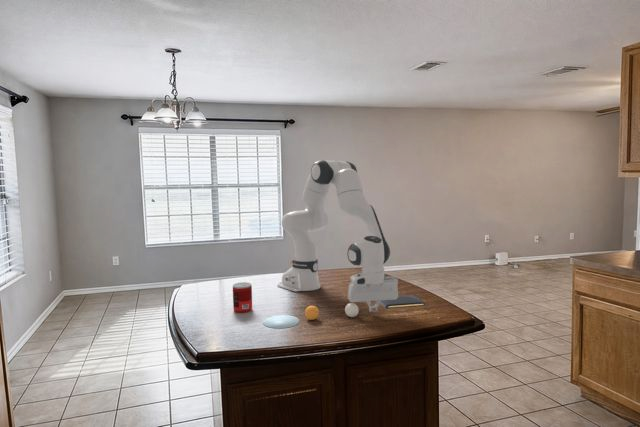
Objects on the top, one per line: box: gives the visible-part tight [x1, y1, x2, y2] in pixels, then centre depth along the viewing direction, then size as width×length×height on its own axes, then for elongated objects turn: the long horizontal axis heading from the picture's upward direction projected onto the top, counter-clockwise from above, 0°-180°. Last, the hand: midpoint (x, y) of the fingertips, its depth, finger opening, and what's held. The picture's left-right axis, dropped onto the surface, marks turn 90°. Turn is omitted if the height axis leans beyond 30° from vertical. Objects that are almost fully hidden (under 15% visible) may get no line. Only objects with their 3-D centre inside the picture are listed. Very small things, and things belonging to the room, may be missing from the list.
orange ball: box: [304, 305, 320, 321], centre depth 165 cm, size 6×6×6 cm
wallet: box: [379, 294, 429, 310], centre depth 186 cm, size 20×2×15 cm
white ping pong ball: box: [344, 302, 360, 318], centre depth 168 cm, size 6×6×6 cm
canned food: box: [232, 281, 253, 314], centre depth 178 cm, size 8×8×11 cm
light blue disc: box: [262, 314, 300, 329], centre depth 163 cm, size 14×14×1 cm
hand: (373, 311), depth 169 cm, fingers closed
